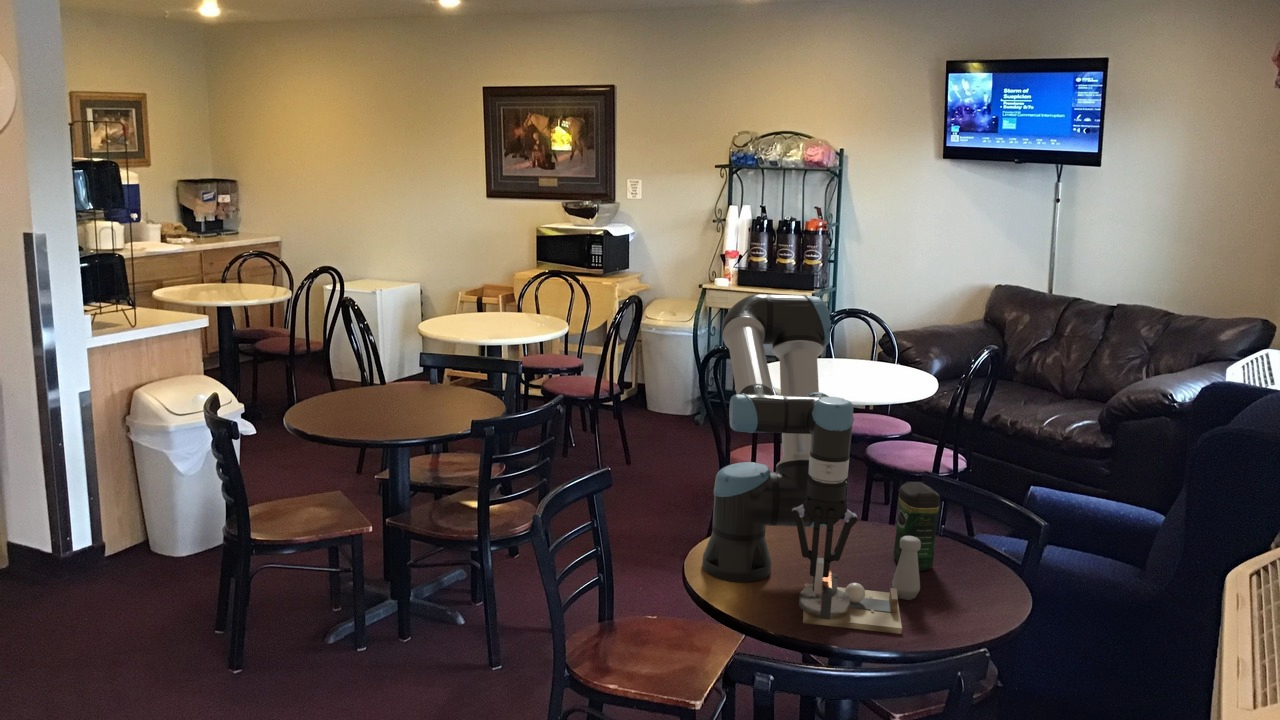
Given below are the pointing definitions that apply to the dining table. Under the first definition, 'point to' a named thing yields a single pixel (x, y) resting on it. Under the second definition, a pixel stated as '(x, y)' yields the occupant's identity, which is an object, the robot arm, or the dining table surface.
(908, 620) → the dining table surface
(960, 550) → the dining table surface
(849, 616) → the stand
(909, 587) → the salt shaker
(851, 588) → the ball
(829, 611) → the grey round-based piece
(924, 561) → the coffee jar
